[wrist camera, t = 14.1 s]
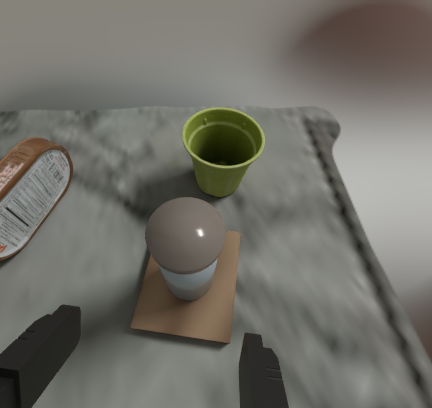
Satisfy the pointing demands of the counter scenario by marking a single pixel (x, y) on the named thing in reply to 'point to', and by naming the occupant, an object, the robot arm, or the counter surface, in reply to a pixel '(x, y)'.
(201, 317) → the tan board
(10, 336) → the counter surface
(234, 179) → the plant pot
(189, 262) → the blue jar
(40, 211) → the tin
